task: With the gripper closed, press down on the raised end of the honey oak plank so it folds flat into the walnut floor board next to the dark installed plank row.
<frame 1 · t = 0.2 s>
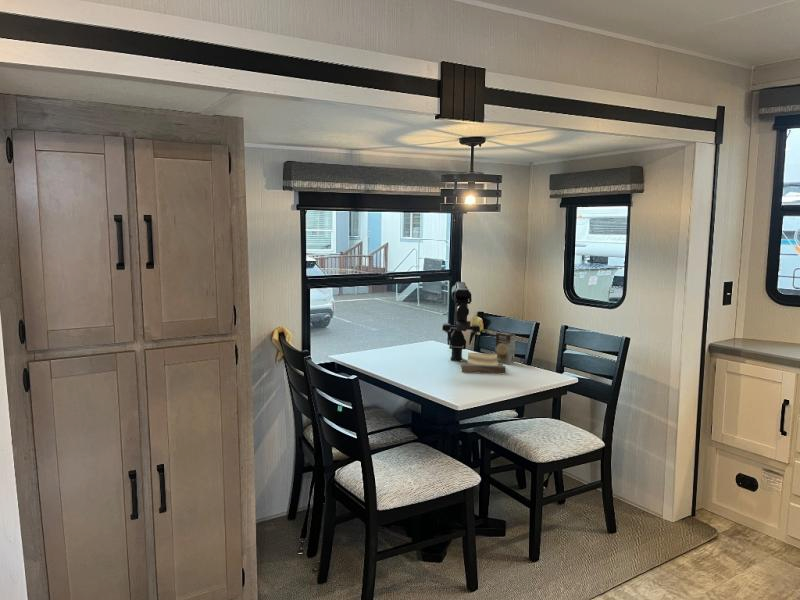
hand: (460, 344, 301), 14 cm above the table, tool pointing down, fingers open, 9 cm apart
floor board: (482, 369, 309), on the table
oak plank: (482, 360, 310), point 4 cm above the table, hinge at 25.0°
coffee box: (504, 362, 326), on the table
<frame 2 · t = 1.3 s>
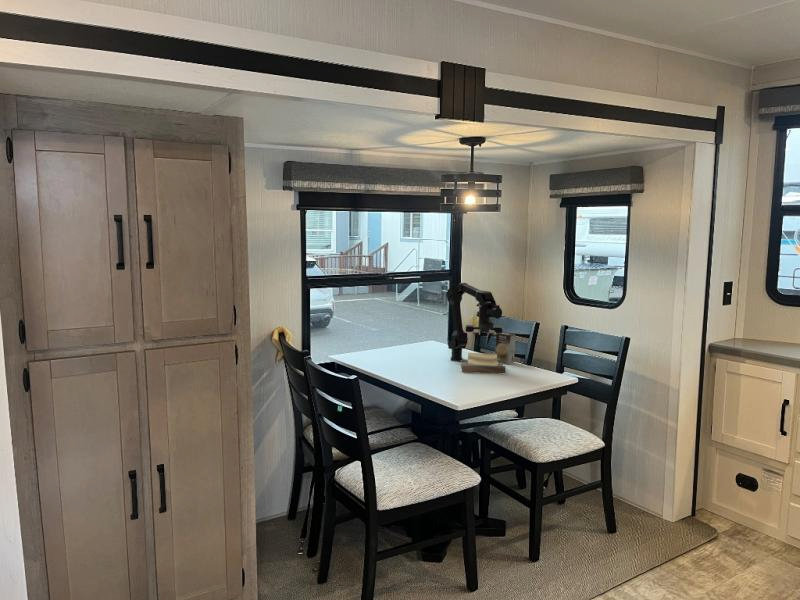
hand: (483, 345, 311), 12 cm above the table, tool pointing down, fingers open, 4 cm apart
nothing on the table moved.
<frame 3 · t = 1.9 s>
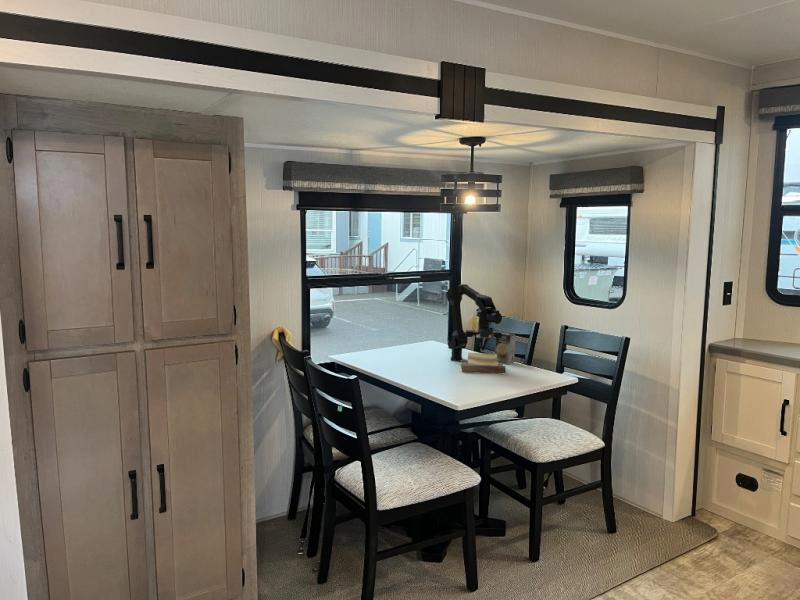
hand: (482, 350, 311), 9 cm above the table, tool pointing down, fingers closed
nothing on the table moved.
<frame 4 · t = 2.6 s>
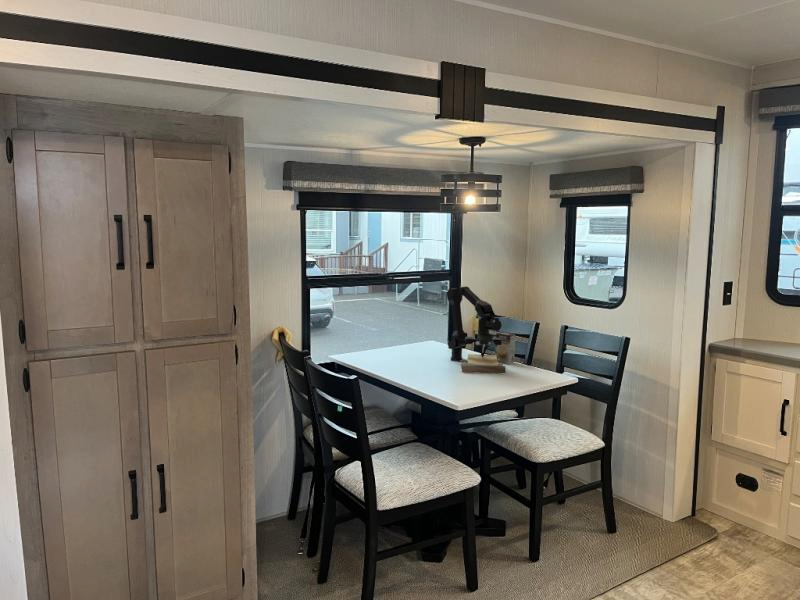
hand: (482, 356, 312), 6 cm above the table, tool pointing down, fingers closed, pressing on oak plank
oak plank: (482, 361, 310), point 4 cm above the table, hinge at 18.8°, touching gripper
everything else where it was.
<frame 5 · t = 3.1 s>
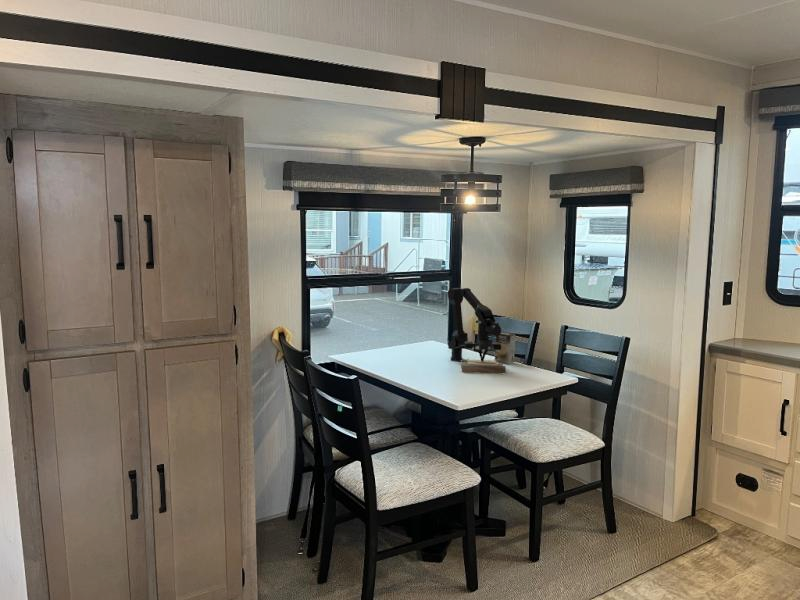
hand: (482, 361, 313), 3 cm above the table, tool pointing down, fingers closed, pressing on oak plank
oak plank: (482, 363, 311), point 2 cm above the table, hinge at 0.2°, touching gripper
everything else where it was.
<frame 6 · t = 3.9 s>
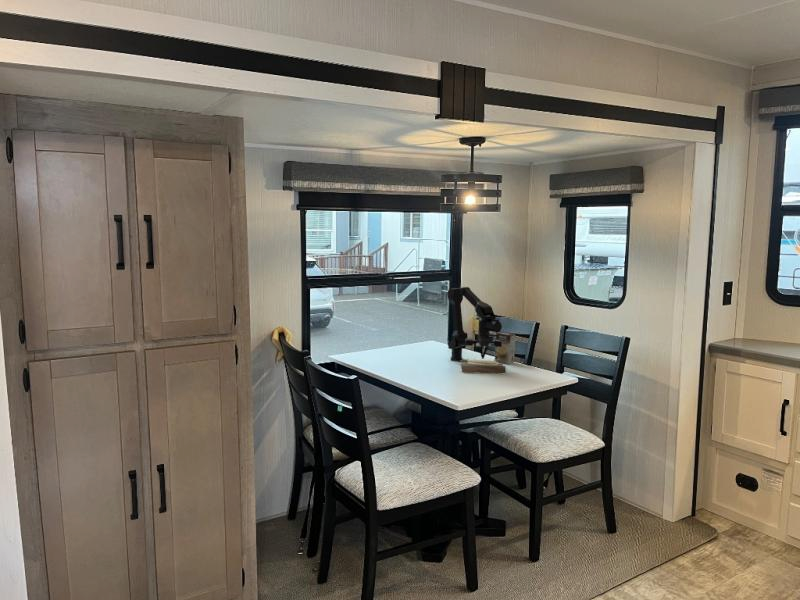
hand: (482, 358, 312), 5 cm above the table, tool pointing down, fingers closed
oak plank: (482, 363, 311), point 2 cm above the table, hinge at -0.5°
everything else where it was.
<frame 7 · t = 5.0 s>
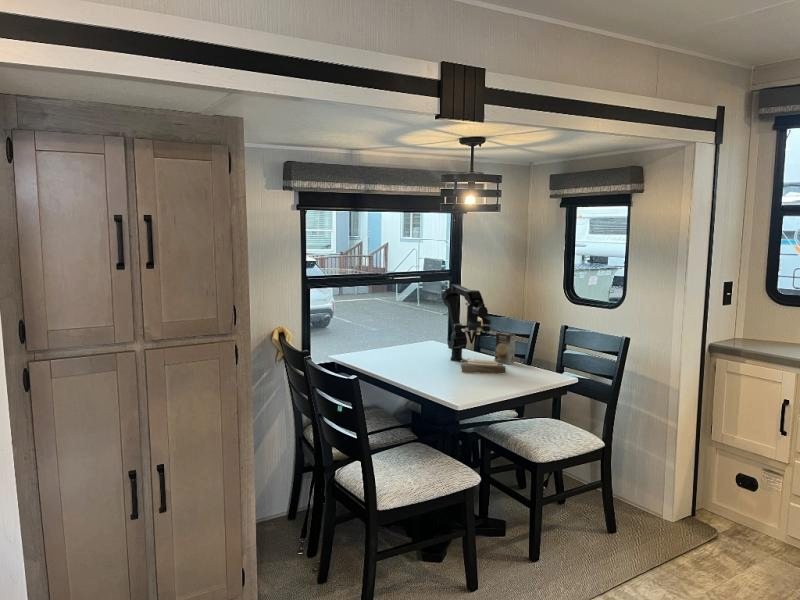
hand: (471, 343, 315), 12 cm above the table, tool pointing down, fingers closed
nothing on the table moved.
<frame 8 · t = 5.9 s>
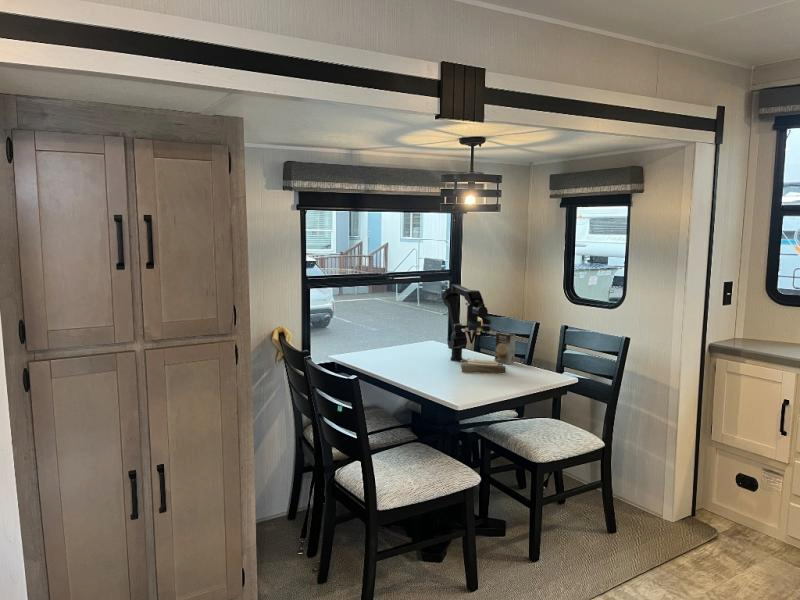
hand: (471, 343, 315), 12 cm above the table, tool pointing down, fingers closed
nothing on the table moved.
at the end: oak plank at +0° (first picture: +25°) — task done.
